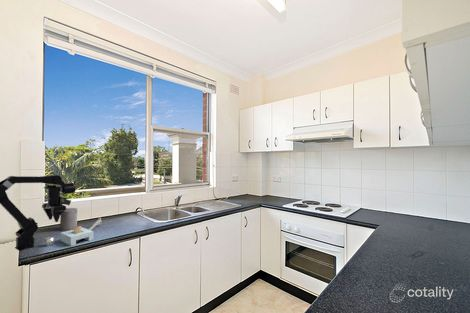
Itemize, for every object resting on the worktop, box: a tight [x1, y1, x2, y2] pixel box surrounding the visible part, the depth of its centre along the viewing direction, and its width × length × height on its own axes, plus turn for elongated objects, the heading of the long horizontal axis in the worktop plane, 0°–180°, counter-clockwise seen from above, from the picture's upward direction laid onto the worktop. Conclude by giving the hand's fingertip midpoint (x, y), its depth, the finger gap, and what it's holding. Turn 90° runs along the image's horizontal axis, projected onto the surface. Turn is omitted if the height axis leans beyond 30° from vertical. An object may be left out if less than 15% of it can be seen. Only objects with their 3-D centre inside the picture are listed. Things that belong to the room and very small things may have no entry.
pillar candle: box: [59, 207, 78, 232], centre depth 155 cm, size 10×10×15 cm
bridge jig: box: [60, 227, 95, 247], centre depth 133 cm, size 12×14×5 cm
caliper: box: [87, 217, 102, 231], centre depth 154 cm, size 20×1×6 cm, turn 7°
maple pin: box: [72, 225, 82, 242], centre depth 133 cm, size 4×4×8 cm
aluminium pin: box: [44, 236, 55, 247], centre depth 126 cm, size 4×4×4 cm
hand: (53, 220), depth 133 cm, fingers open, 9 cm apart
